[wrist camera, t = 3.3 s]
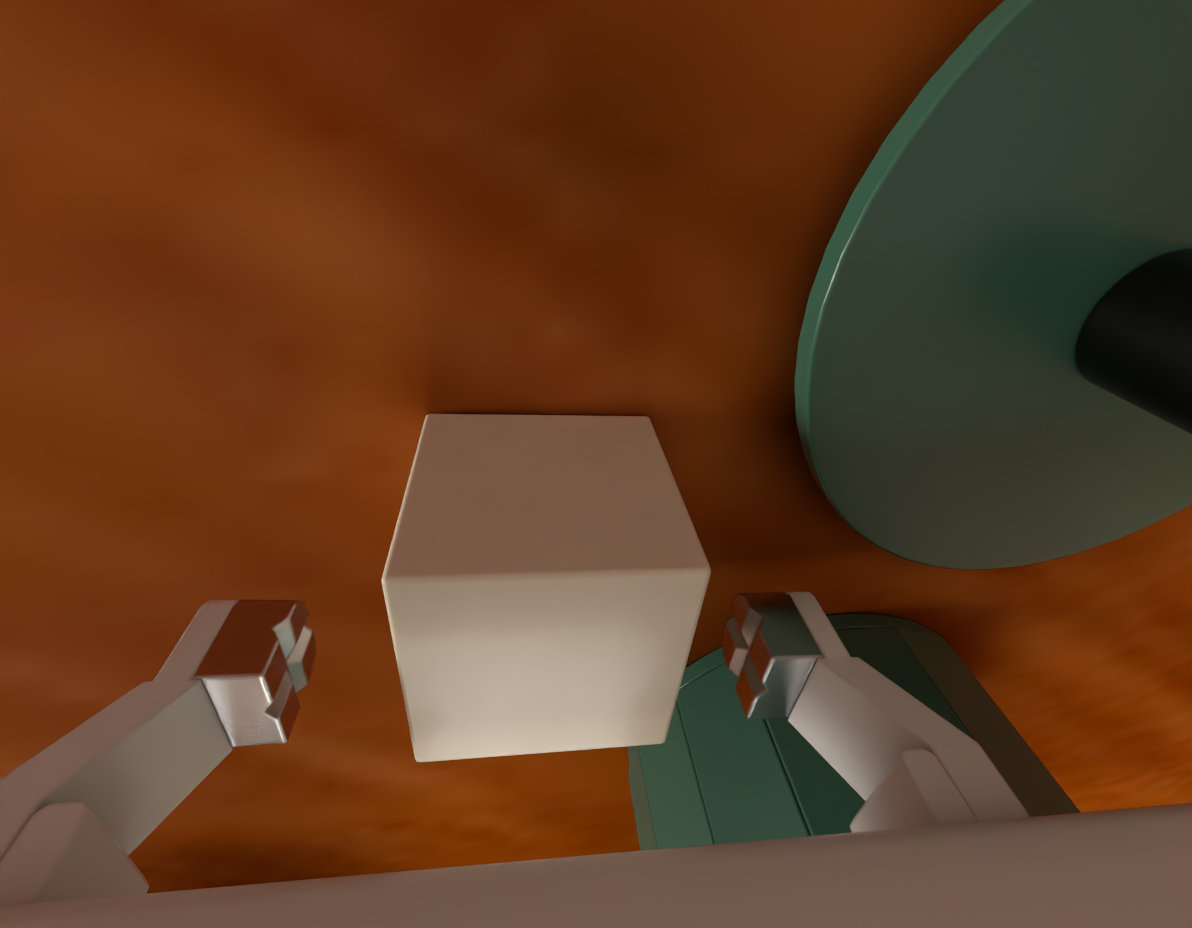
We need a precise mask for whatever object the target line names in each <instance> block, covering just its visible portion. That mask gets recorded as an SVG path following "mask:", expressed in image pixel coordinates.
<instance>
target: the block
mask: <svg viewBox="0 0 1192 928" xmlns="http://www.w3.org/2000/svg"><path fill="white" fill-rule="evenodd" d="M710 574H711V568H710V565H709V563H708V560H707V558H706V555H705V553H704V551H703V548H702V546H701V543H700V541H699V538H698V536H697V533H696V531H695V528H694V526H693V524H692V521H691V519H690V516H689V514H688V511H687V509H686V506H685V504H684V502H683V499H682V497H681V494H680V492H679V489H678V487H677V484H676V482H675V479H674V477H673V475H672V472H671V470H670V467H669V465H668V462H667V460H666V457H665V455H664V452H663V450H662V448H661V445H660V443H659V440H658V438H657V435H656V433H655V430H654V428H653V425H652V423H651V421H650V418H649V417H646V416H578V415H490V414H428V415H426V417H425V421H424V424H423V428H422V432H421V435H420V439H419V443H418V446H417V450H416V454H415V458H414V461H413V465H412V469H411V472H410V476H409V480H408V483H407V487H406V491H405V495H404V498H403V502H402V506H401V509H400V513H399V517H398V521H397V524H396V528H395V532H394V535H393V539H392V543H391V546H390V550H389V554H388V558H387V561H386V565H385V569H384V572H383V576H382V580H381V581H382V587H383V592H384V597H385V603H386V608H387V613H388V618H389V624H390V629H391V634H392V639H393V645H394V650H395V655H396V660H397V666H398V671H399V676H400V681H401V687H402V692H403V697H404V702H405V708H406V713H407V718H408V724H409V729H410V734H411V739H412V745H413V750H414V755H415V759H416V761H417V762H430V761H443V760H456V759H469V758H482V757H495V756H508V755H521V754H534V753H547V752H560V751H573V750H586V749H599V748H612V747H625V746H638V745H651V744H662V743H664V742H665V740H666V737H667V733H668V729H669V726H670V722H671V718H672V715H673V711H674V707H675V704H676V700H677V696H678V693H679V689H680V685H681V681H682V678H683V674H684V670H685V667H686V663H687V659H688V656H689V652H690V648H691V645H692V641H693V637H694V633H695V630H696V626H697V622H698V619H699V615H700V611H701V608H702V604H703V600H704V597H705V593H706V589H707V586H708V582H709V578H710Z"/></svg>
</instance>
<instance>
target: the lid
mask: <svg viewBox="0 0 1192 928" xmlns="http://www.w3.org/2000/svg"><path fill="white" fill-rule="evenodd" d="M794 385H795V408H796V422H797V427H798V432H799V436H800V441H801V446H802V451H803V453H804V456H805V458H806V461H807V463H808V466H809V468H810V471H811V473H812V476H813V478H814V480H815V481H816V483H817V484H818V486H819V487H820V489H821V490H822V492H823V494H824V495H825V497H826V498H827V500H828V501H829V503H830V504H831V505H832V506H833V508H834V509H835V510H836V512H837V513H838V514H839V515H840V516H841V517H842V518H843V519H844V520H845V521H846V522H847V523H848V524H849V525H850V527H851V528H852V529H853V530H854V531H855V532H857V533H858V534H860V535H861V536H862V537H864V538H865V539H867V540H868V541H870V542H871V543H872V544H874V545H875V546H877V547H879V548H881V549H883V550H885V551H888V552H890V553H892V554H894V555H896V556H898V557H900V558H904V559H907V560H910V561H914V562H917V563H921V564H924V565H929V566H936V567H943V568H951V569H979V570H984V569H996V568H1008V567H1016V566H1022V565H1028V564H1033V563H1039V562H1045V561H1049V560H1052V559H1056V558H1060V557H1064V556H1068V555H1071V554H1075V553H1079V552H1082V551H1085V550H1088V549H1091V548H1094V547H1096V546H1099V545H1102V544H1105V543H1108V542H1111V541H1114V540H1116V539H1119V538H1121V537H1123V536H1126V535H1128V534H1131V533H1133V532H1135V531H1138V530H1140V529H1142V528H1145V527H1147V526H1149V525H1151V524H1153V523H1155V522H1157V521H1160V520H1162V519H1164V518H1166V517H1168V516H1170V515H1172V514H1174V513H1176V512H1178V511H1180V510H1182V509H1184V508H1186V507H1187V506H1189V505H1191V504H1192V0H1004V1H1003V2H1002V3H1001V4H1000V5H999V6H998V7H997V8H995V9H994V10H993V11H992V12H991V13H990V14H989V15H988V16H987V17H986V18H985V19H984V20H983V21H982V22H981V23H980V24H978V25H977V26H976V28H975V29H974V30H973V31H972V32H971V33H970V34H969V35H968V37H967V38H966V39H965V40H964V41H963V42H962V43H961V44H960V46H959V47H958V48H957V49H956V50H955V51H954V52H953V54H952V55H951V56H950V57H949V58H948V59H947V60H946V61H945V63H944V64H943V65H942V66H941V67H940V68H939V69H938V70H937V72H936V73H935V74H934V75H933V76H932V77H931V78H930V79H929V81H928V82H927V83H926V84H925V86H924V87H923V88H922V90H921V91H920V92H919V94H918V95H917V97H916V98H915V99H914V101H913V102H912V103H911V105H910V106H909V107H908V109H907V110H906V111H905V113H904V114H903V116H902V117H901V118H900V120H899V121H898V122H897V124H896V125H895V126H894V128H893V129H892V130H891V132H890V133H889V135H888V136H887V137H886V139H885V140H884V142H883V143H882V145H881V147H880V148H879V150H878V152H877V153H876V155H875V157H874V158H873V160H872V162H871V163H870V165H869V167H868V168H867V170H866V172H865V173H864V175H863V177H862V178H861V180H860V182H859V183H858V185H857V187H856V188H855V190H854V192H853V193H852V195H851V197H850V199H849V201H848V203H847V205H846V207H845V210H844V212H843V214H842V216H841V218H840V220H839V222H838V224H837V226H836V228H835V230H834V233H833V235H832V237H831V239H830V241H829V243H828V245H827V247H826V250H825V253H824V256H823V258H822V261H821V264H820V267H819V270H818V272H817V275H816V278H815V281H814V284H813V286H812V289H811V292H810V295H809V298H808V303H807V307H806V311H805V315H804V320H803V324H802V328H801V333H800V337H799V341H798V351H797V361H796V371H795V381H794Z"/></svg>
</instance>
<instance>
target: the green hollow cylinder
mask: <svg viewBox="0 0 1192 928" xmlns="http://www.w3.org/2000/svg"><path fill="white" fill-rule="evenodd" d="M827 618H828V620H829V621H830V623H831V625H832V626H833V628H834V630H835V631H836V633H837V635H838V636H839V638H840V640H841V641H842V643H843V645H844V646H845V648H846V650H847V651H848V653H849V655H850V656H851V657H859V658H860V659H861V660H863V661H864V662H866V663H867V664H868V665H870V666H871V667H873V668H874V669H875V670H877V671H878V672H880V673H881V674H882V675H884V676H885V677H886V678H888V679H889V680H891V681H892V682H893V683H895V684H896V685H898V686H899V687H900V688H902V689H903V690H905V691H906V692H907V693H909V694H910V695H912V696H913V697H914V698H916V699H917V700H919V701H920V702H921V703H923V704H924V705H926V706H927V707H928V708H930V709H931V710H933V711H934V712H935V713H937V714H938V715H940V716H941V717H942V718H944V719H945V720H947V721H948V722H949V723H951V724H952V725H954V726H955V727H956V728H958V729H959V730H961V731H962V732H963V733H965V734H966V735H968V736H969V737H970V738H972V739H973V740H975V741H976V742H977V743H979V745H980V746H981V748H982V749H983V750H984V752H985V753H986V755H987V756H988V758H989V759H990V760H991V762H992V763H993V765H994V766H995V767H996V769H997V770H998V772H999V773H1000V774H1001V776H1002V777H1003V779H1004V780H1005V781H1006V783H1007V784H1008V786H1009V787H1010V789H1011V790H1012V791H1013V793H1014V794H1015V796H1016V797H1017V798H1018V800H1019V801H1020V803H1021V804H1022V805H1023V807H1024V808H1025V810H1026V811H1027V812H1028V814H1029V815H1030V817H1035V816H1046V815H1058V814H1069V813H1081V812H1080V811H1079V810H1078V808H1077V807H1076V806H1075V805H1074V803H1073V802H1072V801H1071V799H1070V798H1069V797H1068V796H1067V794H1066V793H1065V792H1064V791H1063V789H1062V788H1061V787H1060V785H1059V784H1058V783H1057V782H1056V780H1055V779H1054V778H1053V776H1052V775H1051V774H1050V773H1049V771H1048V770H1047V769H1046V767H1045V766H1044V765H1043V764H1042V762H1041V761H1040V760H1039V758H1038V757H1037V756H1036V755H1035V753H1034V752H1033V751H1032V750H1031V748H1030V747H1029V746H1028V744H1027V743H1026V742H1025V741H1024V739H1023V738H1022V737H1021V735H1020V734H1019V733H1018V732H1017V730H1016V729H1015V728H1014V726H1013V725H1012V724H1011V723H1010V721H1009V720H1008V719H1007V717H1006V716H1005V715H1004V714H1003V712H1002V711H1001V710H1000V709H999V707H998V706H997V705H996V703H995V702H994V701H993V700H992V698H991V697H990V696H989V694H988V693H987V692H986V691H985V689H984V688H983V687H982V685H981V684H980V683H979V682H978V680H977V679H976V678H975V676H974V675H973V674H972V673H971V671H970V670H969V669H968V668H967V666H966V665H965V664H964V662H963V661H962V660H961V659H960V657H959V656H958V655H957V653H956V652H955V651H954V650H953V648H952V647H951V646H950V645H949V644H948V643H947V642H946V641H945V640H944V639H943V638H942V637H941V636H940V635H938V634H937V633H935V632H934V631H932V630H931V629H929V628H927V627H925V626H923V625H920V624H918V623H915V622H913V621H910V620H906V619H902V618H898V617H893V616H886V615H877V614H839V615H828V616H827ZM738 680H739V678H738V677H737V676H736V675H735V674H734V673H733V672H731V671H730V670H729V669H728V667H727V664H726V661H725V659H724V654H723V649H722V647H721V648H719V649H717V650H715V651H713V652H712V653H710V654H708V655H706V656H704V657H702V658H701V659H699V660H698V661H696V662H694V663H693V664H691V665H690V666H688V667H687V668H685V670H684V674H683V678H682V681H681V685H680V689H679V693H678V696H677V700H676V704H675V707H674V711H673V715H672V718H671V722H670V726H669V729H668V733H667V737H666V740H665V742H664V743H662V744H651V745H638V746H628V758H629V769H628V778H629V784H630V790H631V796H632V802H633V808H634V814H635V820H636V827H637V833H638V839H639V845H640V851H642V850H654V849H665V848H677V847H689V846H700V845H712V844H724V843H735V842H747V841H759V840H770V839H782V838H793V837H805V836H817V835H828V834H840V833H851V832H852V831H851V829H850V825H851V822H852V820H853V818H854V817H855V815H856V814H857V813H858V811H859V810H860V808H861V807H862V806H863V804H864V803H865V800H864V799H863V798H862V797H861V796H860V795H859V794H858V793H857V792H856V791H855V790H854V789H853V788H852V787H851V786H850V785H849V784H848V783H847V781H846V780H845V779H844V778H843V777H842V776H841V775H840V774H839V773H838V772H837V771H836V770H835V769H834V768H833V767H832V766H831V765H830V764H829V763H828V762H827V761H826V760H825V759H824V758H823V757H822V756H821V754H820V753H819V752H818V751H817V750H816V749H815V748H814V747H813V746H812V745H811V744H810V743H809V742H808V741H807V740H806V739H805V738H804V737H803V736H802V735H801V734H800V733H799V732H798V731H797V730H796V729H795V727H794V726H793V725H792V724H791V723H790V722H789V721H788V719H789V718H772V719H746V716H745V713H744V711H743V708H742V705H741V703H740V700H739V697H738V694H737V692H736V689H735V688H736V685H737V682H738Z"/></svg>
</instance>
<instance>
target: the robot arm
mask: <svg viewBox="0 0 1192 928" xmlns="http://www.w3.org/2000/svg"><path fill="white" fill-rule="evenodd" d="M730 607H731V609H732V611H733V614H734V615H733V616H732V617H731V618H729V619H728V620H727V621H726V622H725V625H724V628H723V632H722V649H723V654H724V659H725V661H726V664H727V667H728V669H729V670H730V671H731V672H733V673H734V674H735V675H736V676H737V677H738V678H739V680H738V682H737V685H736V688H735V689H736V692H737V694H738V697H739V700H740V703H741V705H742V708H743V711H744V713H745V716H746V719H772V718H789V719H788V721H789V722H790V723H791V724H792V725H793V726H794V727H795V729H796V730H797V731H798V732H799V733H800V734H801V735H802V736H803V737H804V738H805V739H806V740H807V741H808V742H809V743H810V744H811V745H812V746H813V747H814V748H815V749H816V750H817V751H818V752H819V753H820V754H821V756H822V757H823V758H824V759H825V760H826V761H827V762H828V763H829V764H830V765H831V766H832V767H833V768H834V769H835V770H836V771H837V772H838V773H839V774H840V775H841V776H842V777H843V778H844V779H845V780H846V781H847V783H848V784H849V785H850V786H851V787H852V788H853V789H854V790H855V791H856V792H857V793H858V794H859V795H860V796H861V797H862V798H863V799H864V800H865V803H864V804H863V806H862V807H861V808H860V810H859V811H858V813H857V814H856V815H855V817H854V818H853V820H852V822H851V825H850V829H851V831H852V832H851V833H840V834H828V835H817V836H805V837H793V838H782V839H770V840H759V841H747V842H735V843H724V844H712V845H700V846H689V847H677V848H665V849H654V850H642V851H631V852H619V853H607V854H596V855H584V856H572V857H561V858H549V859H538V860H526V861H515V862H503V863H492V864H480V865H469V866H457V867H445V868H434V869H422V870H411V871H399V872H388V873H376V874H365V875H353V876H342V877H330V878H319V879H307V880H296V881H284V882H273V883H261V884H250V885H238V886H227V887H215V888H204V889H192V890H181V891H169V892H158V893H147V891H148V889H149V885H148V882H147V880H146V878H145V876H144V875H143V874H142V873H141V872H140V870H139V869H138V868H137V867H136V865H135V864H134V863H133V862H132V860H131V859H130V858H129V857H128V856H129V855H130V854H131V853H132V852H133V851H134V850H135V849H136V848H137V847H138V845H139V844H140V843H141V842H142V841H143V840H144V839H145V838H146V837H147V836H148V835H149V834H150V833H151V832H152V831H153V830H154V829H155V828H156V827H157V826H158V825H159V824H160V823H161V822H162V821H163V820H164V819H165V818H166V817H167V816H168V815H169V814H170V813H171V812H172V811H173V810H174V809H175V808H176V807H177V806H178V805H179V804H180V803H181V802H182V801H183V800H184V799H185V798H186V797H187V796H188V795H189V794H190V793H191V792H192V791H193V790H194V789H195V788H196V787H197V786H198V784H199V783H200V782H201V781H202V780H203V779H204V778H205V777H206V776H207V775H208V774H209V773H210V772H211V771H212V770H213V769H214V768H215V767H216V766H217V765H218V764H219V763H220V762H221V761H222V760H223V759H224V758H225V757H226V756H227V755H228V754H229V753H230V752H231V751H232V747H237V746H250V745H262V744H275V743H287V740H288V738H289V735H290V732H291V729H292V727H293V724H294V721H295V719H296V716H297V713H298V710H299V708H300V706H299V702H298V699H297V696H296V694H297V693H298V692H299V691H300V690H302V689H303V688H304V687H305V686H306V685H307V684H308V683H309V680H310V677H311V674H312V671H313V666H314V660H315V654H316V649H315V638H314V634H313V631H312V630H310V629H309V628H308V627H306V626H305V625H304V624H305V622H306V619H307V617H308V611H307V608H306V605H305V602H304V601H300V600H209V601H208V602H206V603H205V604H204V605H202V606H201V607H200V608H199V610H198V612H197V613H196V615H195V616H194V618H193V619H192V621H191V623H190V624H189V626H188V627H187V629H186V631H185V632H184V634H183V635H182V637H181V638H180V640H179V642H178V643H177V645H176V646H175V648H174V650H173V651H172V653H171V654H170V656H169V657H168V659H167V661H166V662H165V664H164V665H163V667H162V669H161V670H160V672H159V673H158V675H157V676H156V678H155V680H154V681H147V682H142V683H141V684H139V685H138V686H136V687H135V688H133V689H132V690H131V691H129V692H128V693H126V694H125V695H123V696H122V697H120V698H119V699H117V700H116V701H114V702H113V703H111V704H110V705H109V706H107V707H106V708H104V709H103V710H101V711H100V712H98V713H97V714H95V715H94V716H92V717H91V718H89V719H88V720H86V721H85V722H84V723H82V724H81V725H79V726H78V727H76V728H75V729H73V730H72V731H70V732H69V733H67V734H66V735H64V736H63V737H62V738H60V739H59V740H57V741H56V742H54V743H53V744H51V745H50V746H48V747H47V748H45V749H44V750H42V751H41V752H39V753H38V754H37V755H35V756H34V757H32V758H31V759H29V760H28V761H26V762H25V763H23V764H22V765H20V766H19V767H17V768H16V769H15V770H13V771H12V772H10V773H9V774H7V775H6V776H4V777H3V778H1V779H0V928H1192V803H1184V804H1173V805H1162V806H1150V807H1139V808H1127V809H1115V810H1104V811H1092V812H1081V813H1069V814H1058V815H1046V816H1035V817H1030V815H1029V814H1028V812H1027V811H1026V810H1025V808H1024V807H1023V805H1022V804H1021V803H1020V801H1019V800H1018V798H1017V797H1016V796H1015V794H1014V793H1013V791H1012V790H1011V789H1010V787H1009V786H1008V784H1007V783H1006V781H1005V780H1004V779H1003V777H1002V776H1001V774H1000V773H999V772H998V770H997V769H996V767H995V766H994V765H993V763H992V762H991V760H990V759H989V758H988V756H987V755H986V753H985V752H984V750H983V749H982V748H981V746H980V745H979V743H977V742H976V741H975V740H973V739H972V738H970V737H969V736H968V735H966V734H965V733H963V732H962V731H961V730H959V729H958V728H956V727H955V726H954V725H952V724H951V723H949V722H948V721H947V720H945V719H944V718H942V717H941V716H940V715H938V714H937V713H935V712H934V711H933V710H931V709H930V708H928V707H927V706H926V705H924V704H923V703H921V702H920V701H919V700H917V699H916V698H914V697H913V696H912V695H910V694H909V693H907V692H906V691H905V690H903V689H902V688H900V687H899V686H898V685H896V684H895V683H893V682H892V681H891V680H889V679H888V678H886V677H885V676H884V675H882V674H881V673H880V672H878V671H877V670H875V669H874V668H873V667H871V666H870V665H868V664H867V663H866V662H864V661H863V660H861V659H860V658H859V657H851V656H850V655H849V653H848V651H847V650H846V648H845V646H844V645H843V643H842V641H841V640H840V638H839V636H838V635H837V633H836V631H835V630H834V628H833V626H832V625H831V623H830V621H829V620H828V618H827V616H826V615H825V613H824V611H823V610H822V608H821V606H820V605H819V603H818V602H817V600H816V598H815V597H814V595H812V594H811V593H810V592H784V593H783V592H764V593H738V594H737V595H736V596H735V597H734V598H733V601H732V604H731V606H730Z"/></svg>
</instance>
